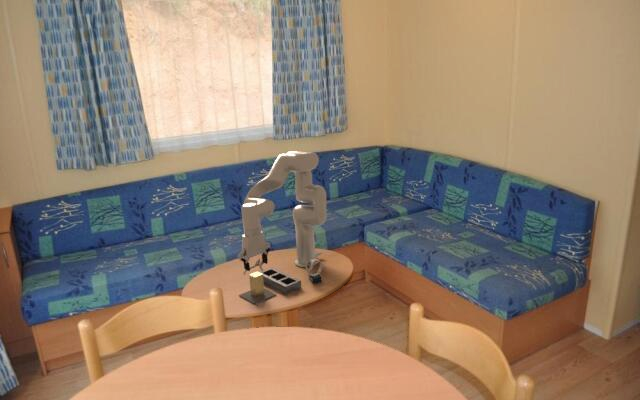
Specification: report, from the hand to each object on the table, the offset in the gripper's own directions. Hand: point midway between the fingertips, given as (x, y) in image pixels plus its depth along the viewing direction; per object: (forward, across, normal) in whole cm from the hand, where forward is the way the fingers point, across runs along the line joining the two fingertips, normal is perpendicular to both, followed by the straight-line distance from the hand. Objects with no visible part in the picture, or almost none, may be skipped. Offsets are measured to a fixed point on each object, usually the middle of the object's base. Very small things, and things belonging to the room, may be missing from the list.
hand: (256, 266), depth 214 cm
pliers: (+16, -17, -28) cm, 36 cm away
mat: (+14, +1, 0) cm, 14 cm away
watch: (+15, -27, +8) cm, 32 cm away
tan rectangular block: (+14, +1, 0) cm, 14 cm away
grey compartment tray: (+15, -13, -2) cm, 19 cm away
